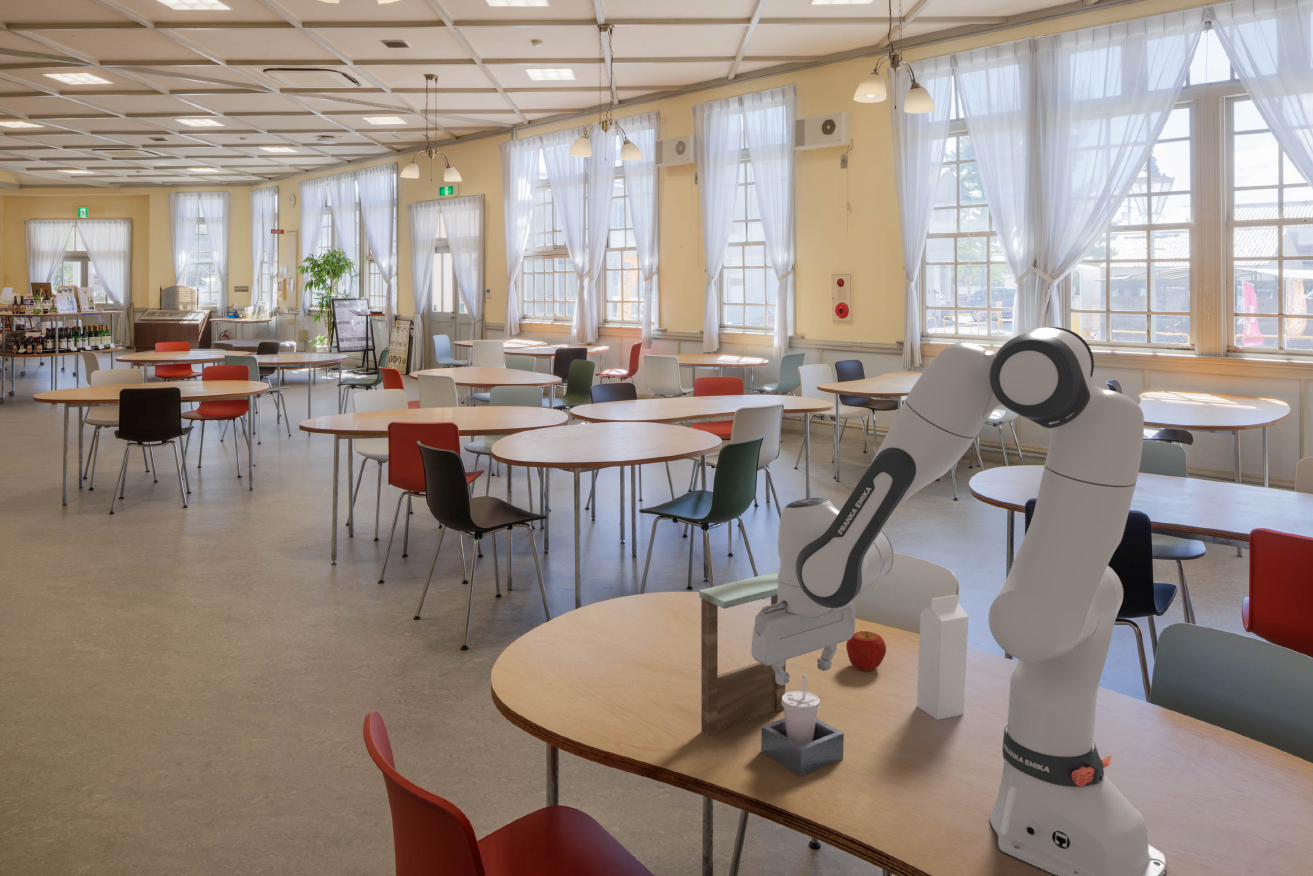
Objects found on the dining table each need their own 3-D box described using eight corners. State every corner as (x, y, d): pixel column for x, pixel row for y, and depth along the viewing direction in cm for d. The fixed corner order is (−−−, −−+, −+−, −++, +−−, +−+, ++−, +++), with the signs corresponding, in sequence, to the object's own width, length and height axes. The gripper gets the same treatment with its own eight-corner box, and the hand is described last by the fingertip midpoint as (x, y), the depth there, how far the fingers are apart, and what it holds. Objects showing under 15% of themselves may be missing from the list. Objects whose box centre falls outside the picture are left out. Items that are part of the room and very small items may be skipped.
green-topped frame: (805, 718, 158) (808, 580, 154) (723, 749, 148) (724, 601, 144) (779, 704, 164) (781, 570, 160) (699, 732, 154) (699, 590, 149)
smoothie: (819, 763, 143) (821, 683, 141) (780, 761, 144) (781, 681, 142) (817, 744, 149) (819, 667, 147) (780, 742, 150) (781, 665, 148)
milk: (916, 706, 163) (920, 593, 159) (943, 701, 165) (947, 589, 161) (937, 721, 157) (941, 604, 154) (964, 715, 159) (969, 599, 156)
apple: (843, 660, 184) (843, 625, 183) (880, 660, 183) (881, 625, 182) (849, 675, 176) (850, 639, 175) (888, 676, 176) (890, 639, 175)
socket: (843, 758, 144) (843, 733, 144) (800, 776, 139) (801, 750, 138) (802, 735, 152) (803, 711, 152) (761, 751, 147) (761, 726, 146)
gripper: (769, 614, 133) (768, 699, 135) (862, 589, 144) (860, 667, 146) (743, 603, 138) (742, 685, 140) (834, 579, 149) (833, 655, 152)
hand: (803, 676), depth 143 cm, fingers open, 8 cm apart
